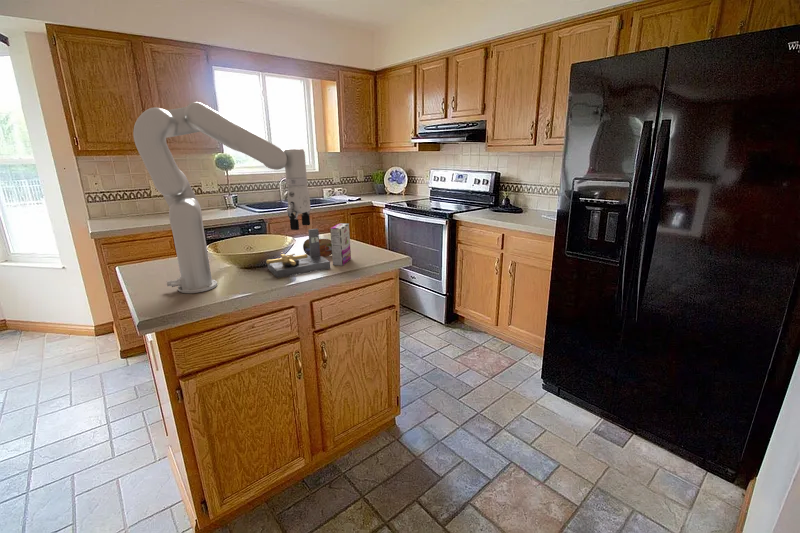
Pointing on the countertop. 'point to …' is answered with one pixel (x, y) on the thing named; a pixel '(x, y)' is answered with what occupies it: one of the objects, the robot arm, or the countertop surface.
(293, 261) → the capstan
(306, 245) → the tin
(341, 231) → the candy bar box
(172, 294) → the countertop surface
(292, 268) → the stand
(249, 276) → the countertop surface
